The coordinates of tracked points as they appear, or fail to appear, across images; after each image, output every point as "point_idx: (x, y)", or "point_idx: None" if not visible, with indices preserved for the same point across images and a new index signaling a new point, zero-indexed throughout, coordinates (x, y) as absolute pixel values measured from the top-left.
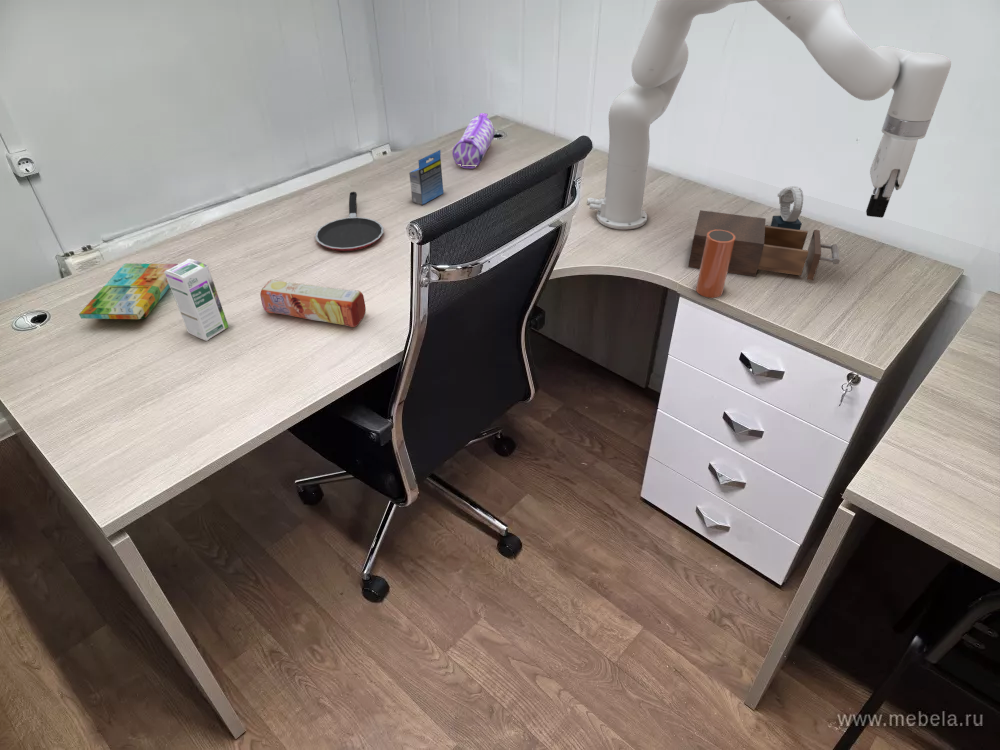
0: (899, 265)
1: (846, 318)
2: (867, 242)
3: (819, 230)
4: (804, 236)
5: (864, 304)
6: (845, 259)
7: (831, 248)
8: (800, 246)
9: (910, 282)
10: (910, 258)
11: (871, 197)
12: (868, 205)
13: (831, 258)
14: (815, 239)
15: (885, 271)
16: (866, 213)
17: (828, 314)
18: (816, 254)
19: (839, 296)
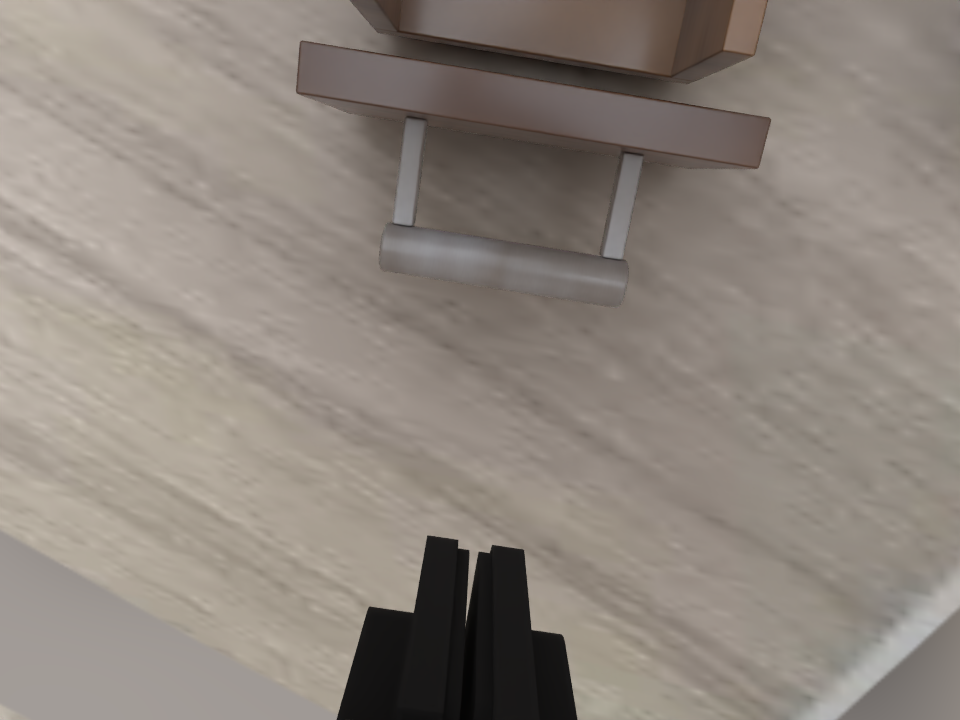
0: (642, 641)
1: (12, 245)
2: (906, 549)
3: (754, 165)
4: (712, 39)
5: (189, 373)
6: (689, 383)
7: (583, 253)
8: (688, 48)
9: None
10: (723, 708)
11: (495, 695)
12: (494, 601)
13: (406, 216)
14: (572, 92)
15: (568, 560)
16: (456, 541)
17: (23, 151)
18: (301, 52)
19: (242, 256)
